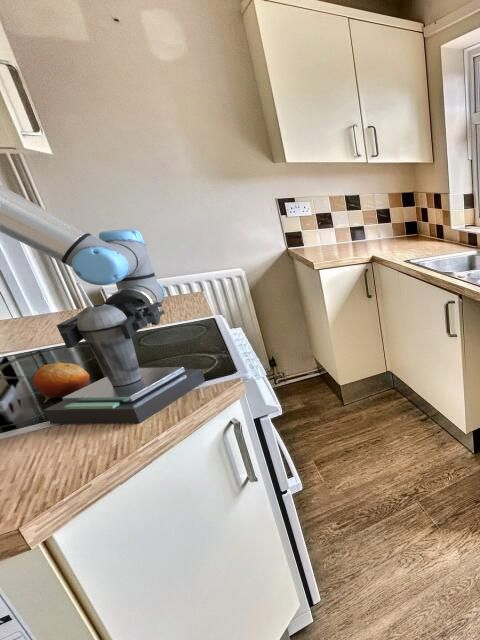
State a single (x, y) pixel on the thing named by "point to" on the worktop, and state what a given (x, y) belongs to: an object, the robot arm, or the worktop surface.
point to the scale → (125, 404)
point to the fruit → (60, 379)
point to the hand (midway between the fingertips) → (96, 336)
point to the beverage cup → (109, 341)
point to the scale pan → (124, 387)
